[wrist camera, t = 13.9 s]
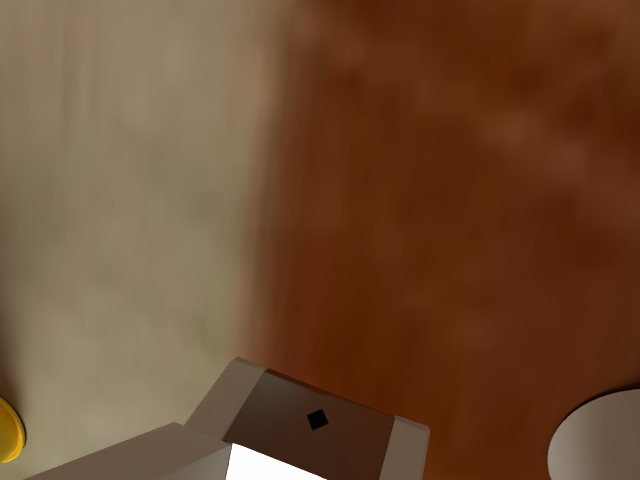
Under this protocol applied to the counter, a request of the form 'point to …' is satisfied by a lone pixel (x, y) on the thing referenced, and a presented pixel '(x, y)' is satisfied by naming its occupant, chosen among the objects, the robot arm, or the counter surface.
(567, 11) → the counter surface
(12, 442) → the stacking cups
